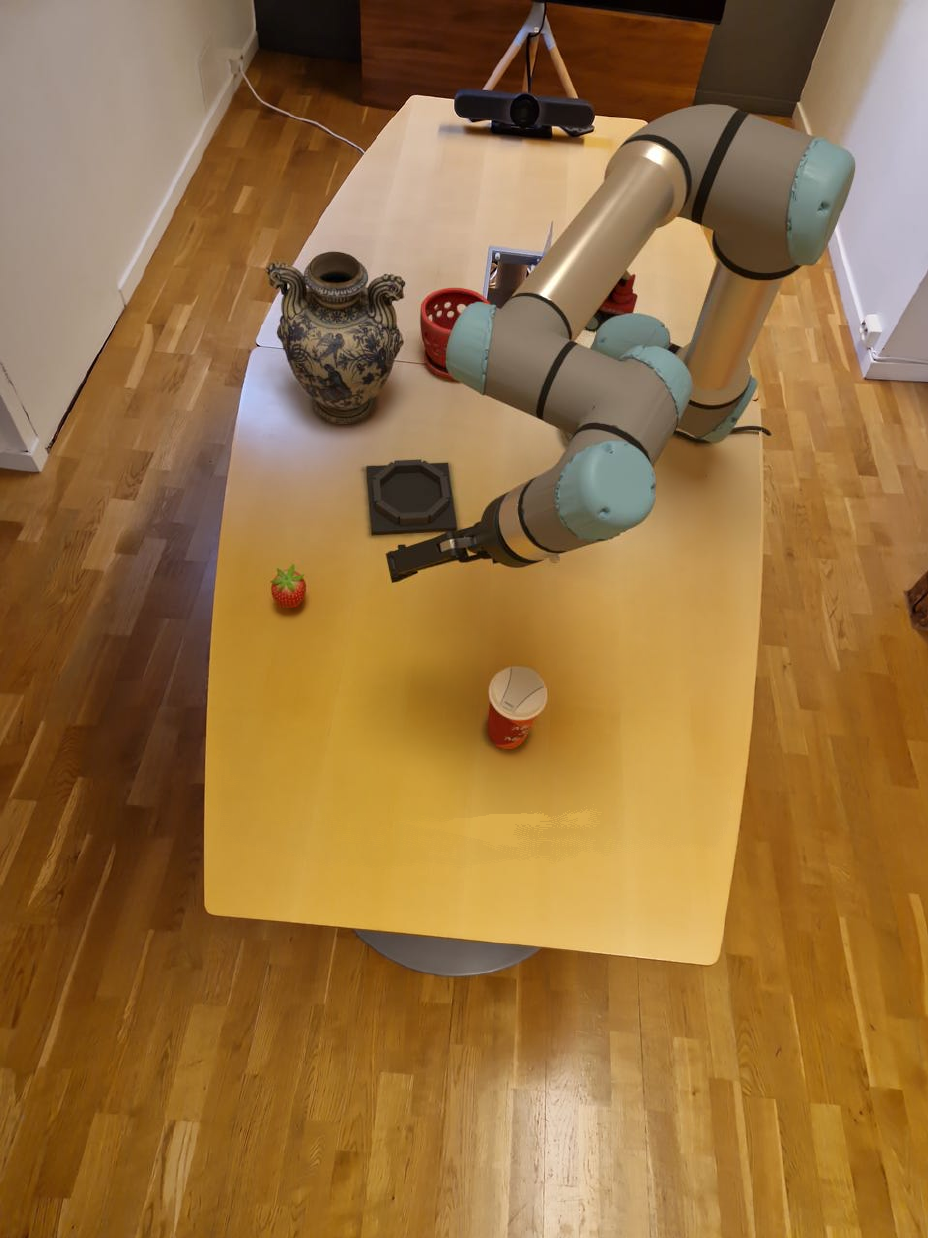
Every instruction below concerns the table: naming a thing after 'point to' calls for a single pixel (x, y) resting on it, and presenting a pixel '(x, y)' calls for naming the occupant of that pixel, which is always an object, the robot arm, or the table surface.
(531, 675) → the paper cup
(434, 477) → the pad
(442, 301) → the plant pot
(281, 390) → the table surface
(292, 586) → the fruit
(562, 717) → the table surface
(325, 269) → the decorative vase
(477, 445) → the table surface
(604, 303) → the toy fire truck
